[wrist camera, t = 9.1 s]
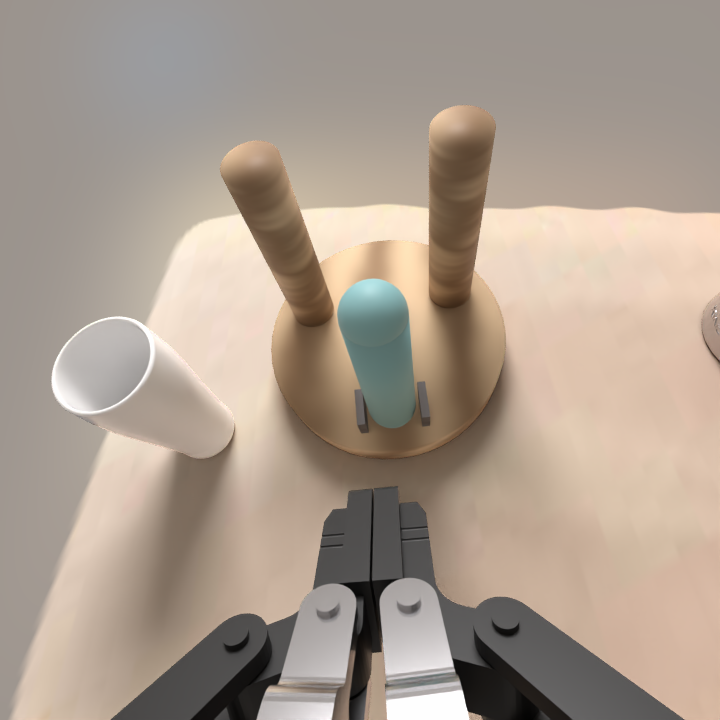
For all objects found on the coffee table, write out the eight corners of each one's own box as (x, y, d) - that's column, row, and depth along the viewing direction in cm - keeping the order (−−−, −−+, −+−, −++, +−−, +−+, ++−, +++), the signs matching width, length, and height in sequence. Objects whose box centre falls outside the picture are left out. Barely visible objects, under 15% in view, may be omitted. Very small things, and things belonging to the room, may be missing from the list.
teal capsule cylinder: (413, 388, 37) (402, 258, 22) (419, 431, 36) (411, 323, 21) (368, 393, 37) (329, 269, 23) (372, 436, 36) (332, 333, 21)
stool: (477, 246, 46) (509, 42, 28) (523, 445, 37) (610, 333, 20) (280, 274, 47) (193, 99, 30) (281, 471, 39) (161, 389, 21)
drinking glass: (255, 402, 42) (173, 323, 28) (228, 476, 40) (125, 428, 26) (189, 388, 44) (81, 306, 30) (160, 459, 41) (28, 404, 27)
